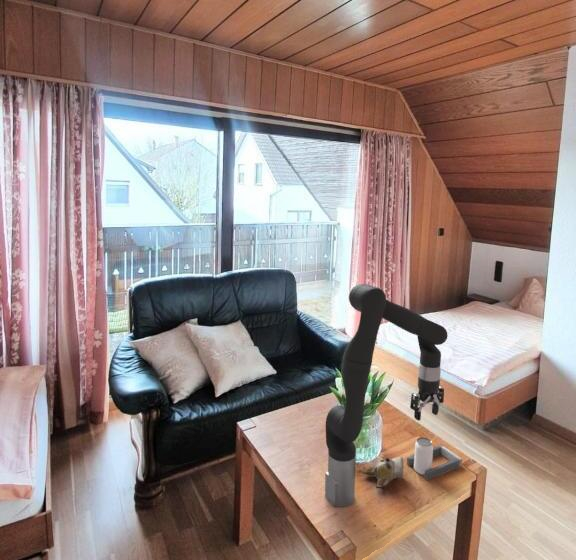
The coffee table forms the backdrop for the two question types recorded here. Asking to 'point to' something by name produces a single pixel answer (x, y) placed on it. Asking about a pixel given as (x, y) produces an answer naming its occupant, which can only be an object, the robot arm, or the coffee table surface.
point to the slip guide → (452, 464)
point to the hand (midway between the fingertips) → (426, 416)
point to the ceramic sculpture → (386, 471)
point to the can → (423, 455)
